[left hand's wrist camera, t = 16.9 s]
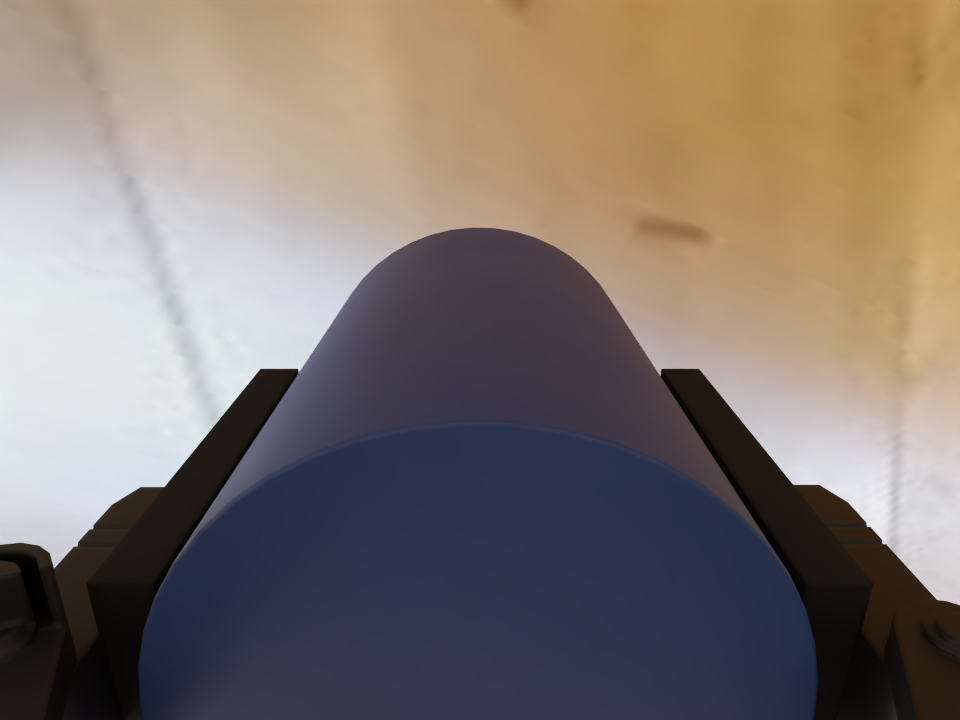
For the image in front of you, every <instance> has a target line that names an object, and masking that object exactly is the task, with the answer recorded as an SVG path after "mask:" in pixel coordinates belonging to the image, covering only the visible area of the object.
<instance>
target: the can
mask: <svg viewBox="0 0 960 720" xmlns="http://www.w3.org/2000/svg"><path fill="white" fill-rule="evenodd" d="M138 677H139V704H140V709H141V714H142V718H143V720H814V717H815V709H816V698H817V687H818V673H817V661H816V649H815V642H814V638H813V634H812V631H811V627H810V623H809V619H808V616H807V612H806V608H805V606H804V604H803V602H802V600H801V598H800V596H799V593H798V591H797V589H796V587H795V585H794V583H793V581H792V578H791V576H790V574H789V573H788V571H787V570H786V568H785V567H784V565H783V564H782V562H781V561H780V559H779V557H778V556H777V554H776V553H775V551H774V550H773V548H772V547H771V545H770V544H769V542H768V541H767V539H766V538H765V536H764V534H763V533H762V531H761V530H760V528H759V527H758V525H757V524H756V522H755V521H754V519H753V518H752V516H751V515H750V513H749V511H748V510H747V508H746V507H745V505H744V504H743V502H742V501H741V499H740V498H739V496H738V495H737V493H736V492H735V490H734V488H733V487H732V485H731V484H730V482H729V481H728V479H727V478H726V476H725V475H724V473H723V472H722V470H721V469H720V467H719V466H718V464H717V462H716V461H715V459H714V458H713V456H712V455H711V453H710V452H709V450H708V449H707V447H706V446H705V444H704V443H703V441H702V439H701V438H700V436H699V435H698V433H697V432H696V430H695V429H694V427H693V426H692V424H691V423H690V421H689V420H688V418H687V416H686V415H685V413H684V412H683V410H682V409H681V407H680V406H679V404H678V403H677V401H676V400H675V398H674V397H673V395H672V394H671V392H670V390H669V389H668V387H667V386H666V384H665V383H664V381H663V380H662V378H661V377H660V375H659V374H658V372H657V371H656V369H655V367H654V366H653V364H652V363H651V361H650V360H649V358H648V357H647V355H646V354H645V352H644V351H643V349H642V348H641V346H640V344H639V343H638V341H637V340H636V338H635V337H634V335H633V334H632V332H631V331H630V329H629V328H628V326H627V325H626V323H625V321H624V320H623V318H622V317H621V315H620V314H619V312H618V311H617V309H616V308H615V306H614V305H613V303H612V302H611V300H610V299H609V297H608V296H607V294H606V293H605V291H604V290H603V288H602V287H601V285H600V284H599V283H598V282H597V281H596V280H595V279H594V277H593V276H592V275H591V274H590V273H589V272H588V271H587V270H586V269H585V268H584V267H583V266H581V265H580V264H579V263H578V262H577V261H575V260H574V259H573V258H572V257H570V256H569V255H567V254H566V253H564V252H562V251H561V250H559V249H557V248H556V247H554V246H552V245H550V244H548V243H546V242H543V241H541V240H539V239H537V238H534V237H531V236H528V235H524V234H521V233H518V232H514V231H508V230H501V229H495V228H465V229H456V230H449V231H445V232H441V233H437V234H433V235H430V236H427V237H424V238H422V239H419V240H417V241H414V242H412V243H410V244H408V245H406V246H404V247H403V248H401V249H399V250H397V251H395V252H394V253H392V254H391V255H390V256H388V257H387V258H386V259H384V260H383V261H382V262H380V263H379V264H377V265H376V266H375V267H374V268H373V269H372V270H371V271H370V272H369V273H368V274H367V275H366V276H365V277H364V278H363V279H362V281H361V282H360V283H359V285H358V286H357V287H356V289H355V290H354V291H353V293H352V294H351V295H350V297H349V298H348V300H347V301H346V303H345V304H344V306H343V307H342V309H341V310H340V312H339V313H338V315H337V316H336V318H335V319H334V321H333V323H332V324H331V326H330V327H329V329H328V330H327V332H326V333H325V335H324V336H323V338H322V339H321V341H320V342H319V344H318V345H317V347H316V348H315V350H314V351H313V353H312V354H311V356H310V357H309V359H308V360H307V362H306V363H305V365H304V366H303V368H302V369H301V371H300V372H299V374H298V375H297V377H296V378H295V380H294V381H293V383H292V384H291V386H290V387H289V389H288V390H287V392H286V393H285V395H284V396H283V398H282V399H281V401H280V402H279V404H278V405H277V407H276V409H275V410H274V412H273V413H272V415H271V416H270V418H269V419H268V421H267V422H266V424H265V425H264V427H263V428H262V430H261V431H260V433H259V434H258V436H257V437H256V439H255V440H254V442H253V443H252V445H251V446H250V448H249V449H248V451H247V452H246V454H245V455H244V457H243V458H242V460H241V461H240V463H239V464H238V466H237V467H236V469H235V470H234V472H233V473H232V475H231V476H230V478H229V479H228V481H227V482H226V484H225V485H224V487H223V488H222V490H221V491H220V493H219V495H218V496H217V498H216V499H215V501H214V502H213V504H212V505H211V507H210V508H209V510H208V511H207V513H206V514H205V516H204V517H203V519H202V520H201V522H200V523H199V525H198V526H197V528H196V529H195V531H194V532H193V534H192V535H191V537H190V538H189V540H188V541H187V543H186V544H185V546H184V547H183V549H182V550H181V552H180V553H179V555H178V556H177V558H176V559H175V561H174V562H173V564H172V566H171V568H170V570H169V572H168V573H167V575H166V577H165V579H164V581H163V583H162V584H161V586H160V588H159V590H158V592H157V594H156V596H155V598H154V601H153V604H152V607H151V610H150V613H149V616H148V619H147V622H146V625H145V628H144V631H143V638H142V645H141V651H140V658H139V665H138Z"/></svg>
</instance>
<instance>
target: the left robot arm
mask: <svg viewBox="0 0 960 720" xmlns="http://www.w3.org/2000/svg"><path fill="white" fill-rule="evenodd" d="M298 374H299V373H298V369H260V370H259V372H258V373H257V374H256V375H255V377H254V378H253V379H252V380H251V381H250V383H249V384H248V385H247V386H246V388H245V389H244V390H243V391H242V393H241V394H240V395H239V396H238V397H237V399H236V400H235V401H234V402H233V404H232V405H231V406H230V407H229V409H228V410H227V411H226V412H225V413H224V415H223V416H222V417H221V418H220V420H219V421H218V422H217V423H216V425H215V426H214V427H213V428H212V429H211V431H210V432H209V433H208V434H207V436H206V437H205V438H204V439H203V441H202V442H201V443H200V444H199V445H198V447H197V448H196V449H195V450H194V452H193V453H192V454H191V455H190V456H189V458H188V459H187V460H186V461H185V463H184V464H183V465H182V466H181V468H180V469H179V470H178V471H177V472H176V474H175V475H174V476H173V477H172V479H171V480H170V481H169V482H168V484H167V485H166V486H165V487H140V488H139V489H137V490H136V491H134V492H132V493H131V494H129V495H127V496H126V497H124V498H122V499H121V500H119V501H118V502H116V503H114V504H113V505H112V506H111V507H110V508H109V509H108V510H107V511H106V512H105V513H104V514H103V515H102V517H101V518H100V519H99V520H98V521H97V522H96V523H95V524H94V528H93V529H90V530H89V531H88V532H87V533H86V534H85V535H84V536H83V538H82V539H81V540H80V541H79V542H78V546H77V547H73V549H72V550H71V551H70V552H69V553H68V554H67V555H66V556H65V557H64V558H63V560H62V561H61V562H60V563H59V564H58V565H57V566H56V567H55V568H54V567H53V564H52V560H51V556H50V553H48V552H47V551H46V550H44V549H43V548H42V547H40V546H38V545H31V544H24V543H15V544H5V545H0V720H143V718H142V714H141V709H140V704H139V677H138V665H139V658H140V651H141V645H142V638H143V631H144V628H145V625H146V622H147V619H148V616H149V613H150V610H151V607H152V604H153V601H154V598H155V596H156V594H157V592H158V590H159V588H160V586H161V584H162V583H163V581H164V579H165V577H166V575H167V573H168V572H169V570H170V568H171V566H172V564H173V562H174V561H175V559H176V558H177V556H178V555H179V553H180V552H181V550H182V549H183V547H184V546H185V544H186V543H187V541H188V540H189V538H190V537H191V535H192V534H193V532H194V531H195V529H196V528H197V526H198V525H199V523H200V522H201V520H202V519H203V517H204V516H205V514H206V513H207V511H208V510H209V508H210V507H211V505H212V504H213V502H214V501H215V499H216V498H217V496H218V495H219V493H220V491H221V490H222V488H223V487H224V485H225V484H226V482H227V481H228V479H229V478H230V476H231V475H232V473H233V472H234V470H235V469H236V467H237V466H238V464H239V463H240V461H241V460H242V458H243V457H244V455H245V454H246V452H247V451H248V449H249V448H250V446H251V445H252V443H253V442H254V440H255V439H256V437H257V436H258V434H259V433H260V431H261V430H262V428H263V427H264V425H265V424H266V422H267V421H268V419H269V418H270V416H271V415H272V413H273V412H274V410H275V409H276V407H277V405H278V404H279V402H280V401H281V399H282V398H283V396H284V395H285V393H286V392H287V390H288V389H289V387H290V386H291V384H292V383H293V381H294V380H295V378H296V377H297V375H298ZM661 378H662V380H663V381H664V383H665V384H666V386H667V387H668V389H669V390H670V392H671V394H672V395H673V397H674V398H675V400H676V401H677V403H678V404H679V406H680V407H681V409H682V410H683V412H684V413H685V415H686V416H687V418H688V420H689V421H690V423H691V424H692V426H693V427H694V429H695V430H696V432H697V433H698V435H699V436H700V438H701V439H702V441H703V443H704V444H705V446H706V447H707V449H708V450H709V452H710V453H711V455H712V456H713V458H714V459H715V461H716V462H717V464H718V466H719V467H720V469H721V470H722V472H723V473H724V475H725V476H726V478H727V479H728V481H729V482H730V484H731V485H732V487H733V488H734V490H735V492H736V493H737V495H738V496H739V498H740V499H741V501H742V502H743V504H744V505H745V507H746V508H747V510H748V511H749V513H750V515H751V516H752V518H753V519H754V521H755V522H756V524H757V525H758V527H759V528H760V530H761V531H762V533H763V534H764V536H765V538H766V539H767V541H768V542H769V544H770V545H771V547H772V548H773V550H774V551H775V553H776V554H777V556H778V557H779V559H780V561H781V562H782V564H783V565H784V567H785V568H786V570H787V571H788V573H789V574H790V576H791V578H792V581H793V583H794V585H795V587H796V589H797V591H798V593H799V596H800V598H801V600H802V602H803V604H804V606H805V608H806V612H807V616H808V619H809V623H810V627H811V631H812V634H813V638H814V642H815V649H816V661H817V673H818V687H817V698H816V709H815V717H814V720H960V605H957V604H954V603H950V602H947V601H939V600H936V598H935V597H934V596H933V595H932V594H931V593H930V592H929V591H928V590H927V589H926V588H925V586H924V585H923V584H922V583H921V582H920V581H919V580H918V579H917V578H916V577H915V575H914V574H913V573H912V572H911V571H910V570H909V569H908V568H907V567H906V566H905V565H904V563H903V562H902V561H901V560H900V559H899V558H898V557H897V556H896V555H895V554H894V553H893V551H892V550H891V549H890V548H889V547H888V546H887V545H886V544H882V539H881V538H880V537H879V536H878V535H877V534H876V533H875V532H874V531H873V530H872V528H871V527H867V525H866V522H865V521H864V520H863V519H862V517H861V516H860V515H859V514H858V513H857V512H856V511H855V510H854V509H853V508H852V507H851V505H850V504H849V503H848V502H846V501H845V500H843V499H841V498H840V497H838V496H836V495H835V494H833V493H831V492H830V491H828V490H827V489H825V488H823V487H822V486H820V485H793V484H792V483H791V482H790V480H789V479H788V478H787V477H786V476H785V474H784V473H783V472H782V471H781V469H780V468H779V467H778V466H777V464H776V463H775V462H774V461H773V460H772V458H771V457H770V456H769V455H768V453H767V452H766V451H765V450H764V448H763V447H762V446H761V445H760V444H759V442H758V441H757V440H756V439H755V437H754V436H753V435H752V434H751V432H750V431H749V430H748V429H747V428H746V426H745V425H744V424H743V423H742V421H741V420H740V419H739V418H738V416H737V415H736V414H735V413H734V412H733V410H732V409H731V408H730V407H729V405H728V404H727V403H726V402H725V400H724V399H723V398H722V397H721V396H720V394H719V393H718V392H717V391H716V389H715V388H714V387H713V386H712V385H711V383H710V382H709V381H708V380H707V378H706V377H705V376H704V375H703V373H702V372H701V371H700V370H699V369H661Z"/></svg>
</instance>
